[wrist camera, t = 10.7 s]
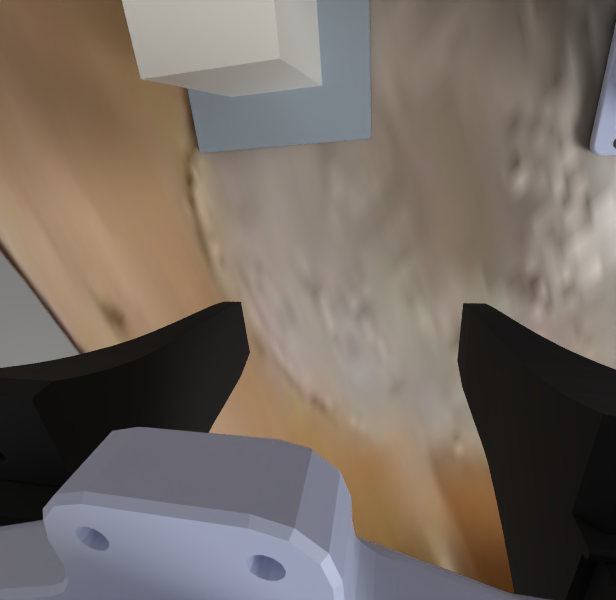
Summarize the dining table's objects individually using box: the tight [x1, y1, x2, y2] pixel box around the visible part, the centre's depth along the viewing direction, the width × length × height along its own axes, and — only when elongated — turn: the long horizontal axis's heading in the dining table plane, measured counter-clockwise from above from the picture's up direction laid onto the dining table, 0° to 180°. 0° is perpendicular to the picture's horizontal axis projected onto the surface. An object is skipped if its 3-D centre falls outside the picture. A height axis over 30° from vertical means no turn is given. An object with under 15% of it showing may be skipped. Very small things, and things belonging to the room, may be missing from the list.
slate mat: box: [187, 0, 371, 153], centre depth 17 cm, size 9×9×1 cm
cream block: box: [122, 0, 322, 97], centre depth 13 cm, size 4×4×8 cm
